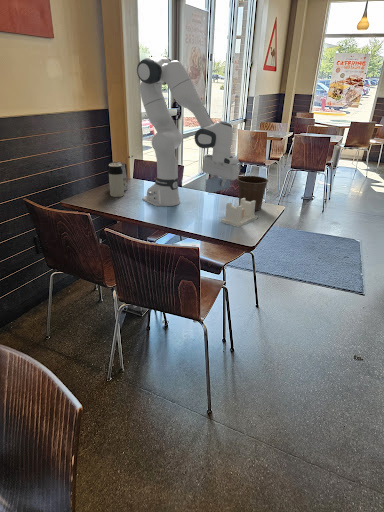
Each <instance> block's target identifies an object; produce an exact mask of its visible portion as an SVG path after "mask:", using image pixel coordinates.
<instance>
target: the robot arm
mask: <svg viewBox="0 0 384 512" xmlns="http://www.w3.org/2000/svg"><path fill="white" fill-rule="evenodd" d="M136 73H137V77H138V79H139V80H140V83H139V88H138V89H139V93H140V98H141V101H142V104H143V107H144V110H145V111H144V112H145V113H146V116H147V119H148V121H149V123H150V124H151V125H152V126H153V128H154V130H155V131H156V133H155V134H154V135H153V137H152V139H151V146H152V149H153V150H154V155H155V158H156V168H157V170H156V173H157V176H156V177H155V178H153V181H154V184H152V185H151V186H149V187H148V189H147V190H146V195H145V196H143V197H142V200H143V201H145V202H147V203H148V204H151V205H153V206H155V207H163V206H164V207H171V206H177V205H178V206H179V204H181V200H180V194H179V193H180V192H179V181H180V180H179V177H178V176H179V174H178V171H179V170H178V169H179V168H178V166H179V164H178V161H177V157H176V150H177V149H178V148H179V147H180V146H181V144H182V141H183V135H182V133H181V131H180V130H179V129H178V127H177V125H176V123H175V122H174V120H173V118H172V117H171V114H170V111H169V108H168V105H167V102H166V100H165V96H164V94H163V91H162V86H165V85H167V86H168V89H169V91H170V94H171V96H172V97H173V99H174V101H175V102H176V103H177V105H179V106H181V107H183V108H185V109H186V110H189V112H191V113H192V114H193V116H194V118H195V120H196V122H197V123H198V125H199V126H200V128H199V129H198V130H196V132H195V134H194V142H195V145H196V146H197V147H198V148H200V149H210V148H211V149H212V154H209V153H207V154H206V155H204V156H203V162H202V167H201V168H202V169H201V172H203V173H204V174H208V175H210V178H215V177H222V180H223V181H222V182H221V183H220V186H222V187H223V186H224V183H225V182H226V180H227V179H229V180H230V181H236V180H237V178H238V177H239V170H240V169H239V162H240V159H239V158H237V157H236V156H234V155H233V154H232V150H231V149H232V144H233V137H234V129H233V126H232V124H231V123H229V122H227V121H222V120H219V121H216V122H215V123H214V121H213V120H212V118H211V117H210V115H209V112H208V110H207V109H206V107H205V105H204V103H203V102H202V100H201V98H200V96H199V93H198V91H197V88H196V87H195V85H194V83H193V81H192V78H191V77H190V75H189V73H188V71H187V70H186V68H185V66H184V65H183V64H182V62H180V61H179V60H173V59H171V58H170V57H168V56H153V57H148V58H143V59H142V60H140V61H139V62H138V64H137V65H136Z"/></svg>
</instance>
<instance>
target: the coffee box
mask: <svg viewBox="0 0 384 512" xmlns="http://www.w3.org/2000/svg"><path fill="white" fill-rule="evenodd" d="M113 163H118V164H122V166H121V168H122V170H123V186H124V191H128V189H129V186H128V168H127V167H128V166H127V163H124V162H121V161H113V162H110V164H113Z"/></svg>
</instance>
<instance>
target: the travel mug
mask: <svg viewBox="0 0 384 512" xmlns="http://www.w3.org/2000/svg"><path fill="white" fill-rule="evenodd" d="M121 166H122V164H118V163H113V164H111V163H109V164H108V167H109V168H108V170H107V171H108V182H109V195H110V196H111V197H113V198H121V197H123V196H124V195H125V190H124V186H123V170H122V168H121Z"/></svg>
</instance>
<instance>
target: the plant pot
mask: <svg viewBox="0 0 384 512" xmlns="http://www.w3.org/2000/svg"><path fill="white" fill-rule="evenodd" d="M236 180H237V184H238V206H240V200H241V199H242V198H246V199H245V201H249V202H251V201H254V200H255V201H256V202H255V211H254V212H257V211H261V210H262V206H263V205H262V204H263V200H264V195H265V192H266V191H265V190H266V189H267V184H268V182H269V180H268V179H267V178H265V177H262V176H257V175H244V176H243V175H242V176H238V178H237V179H236Z"/></svg>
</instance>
